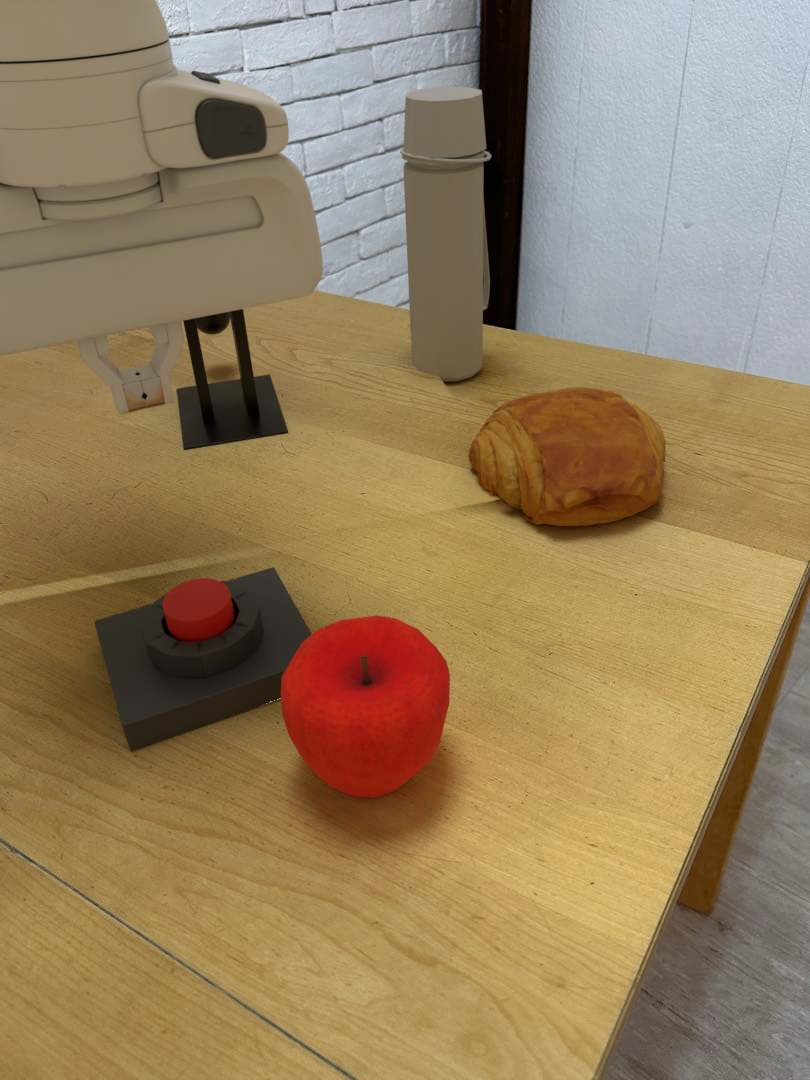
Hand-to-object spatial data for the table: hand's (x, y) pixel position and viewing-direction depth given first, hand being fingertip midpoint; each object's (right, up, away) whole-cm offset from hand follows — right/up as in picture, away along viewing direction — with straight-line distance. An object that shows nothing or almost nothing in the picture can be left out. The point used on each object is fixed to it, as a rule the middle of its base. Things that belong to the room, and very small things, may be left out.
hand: (144, 404), depth 48 cm
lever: (-3, +12, +34) cm, 36 cm away
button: (+1, -12, +7) cm, 14 cm away
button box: (+2, -15, +9) cm, 18 cm away
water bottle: (+19, +10, +43) cm, 48 cm away
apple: (+12, -20, +2) cm, 23 cm away
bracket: (-2, +4, +35) cm, 36 cm away
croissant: (+27, -3, +24) cm, 36 cm away
